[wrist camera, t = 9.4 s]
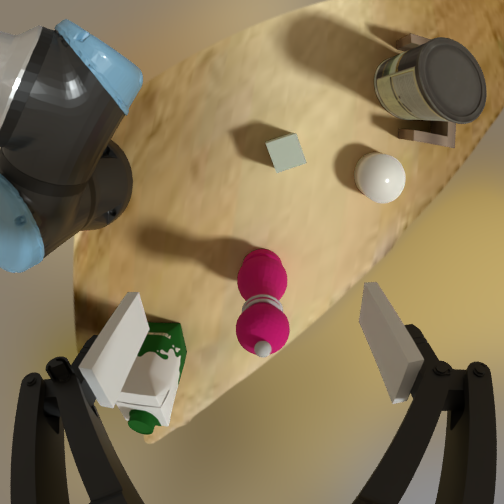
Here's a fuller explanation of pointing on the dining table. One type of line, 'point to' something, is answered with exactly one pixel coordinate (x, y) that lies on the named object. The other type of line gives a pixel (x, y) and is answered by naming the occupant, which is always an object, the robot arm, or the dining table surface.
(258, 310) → the pepper mill
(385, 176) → the white glossy round part
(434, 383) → the robot arm
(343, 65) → the dining table surface
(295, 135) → the sage block
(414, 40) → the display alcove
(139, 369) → the milk carton
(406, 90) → the coffee can
